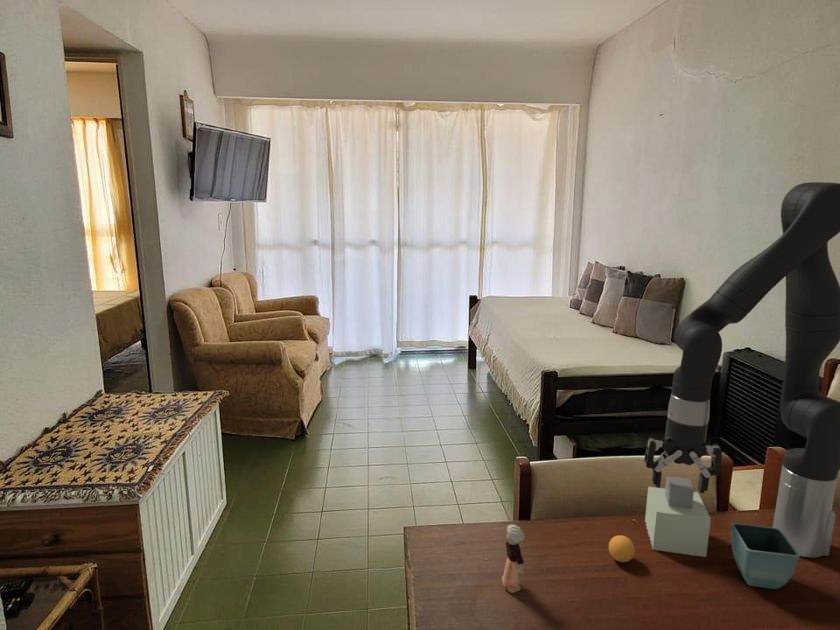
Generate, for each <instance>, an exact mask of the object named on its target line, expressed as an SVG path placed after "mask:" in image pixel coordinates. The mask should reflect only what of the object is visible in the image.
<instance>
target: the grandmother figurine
mask: <svg viewBox="0 0 840 630" xmlns="http://www.w3.org/2000/svg"><path fill="white" fill-rule="evenodd" d="M506 532H507V533H506V537H505V538H506V542H505V548H504V549H505V551H506V555H507V557H506V559H505V560H506V561H505V566H504V571H503V575H502V576H501V579H500V580H501V582H502V585H503V586H504V587H505V588H506V590H507V591H508V593H512V594H514V593H517V592H519V591H521V590H522V587H521V585H520V581H519V578H520V577H519V574H520V575H523V574H524V573H525V569H524V567H525V566H524V565H525V560H524V559H523V556H522V551H521V547H520V542H523V540H525V534H524V531H523V530H522V529H521V528H520V526H518V525H515V524H509V525H507V527H506Z"/></svg>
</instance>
